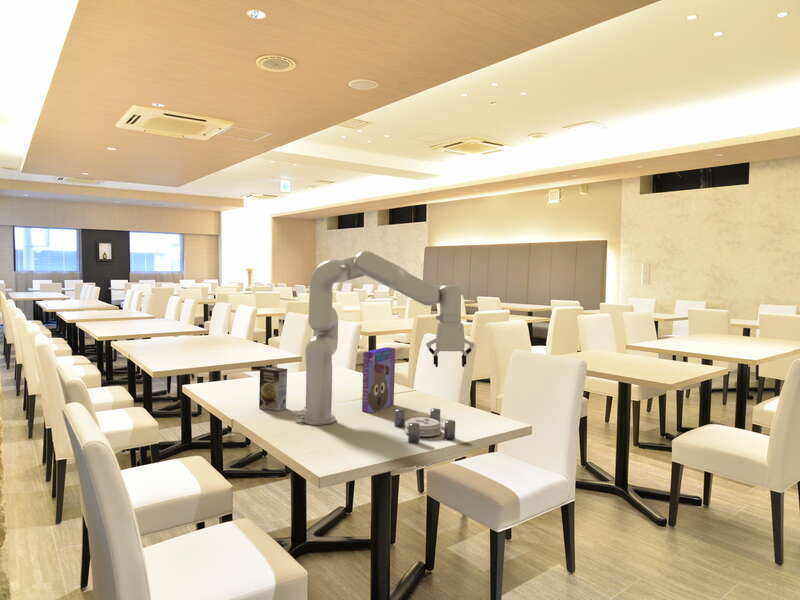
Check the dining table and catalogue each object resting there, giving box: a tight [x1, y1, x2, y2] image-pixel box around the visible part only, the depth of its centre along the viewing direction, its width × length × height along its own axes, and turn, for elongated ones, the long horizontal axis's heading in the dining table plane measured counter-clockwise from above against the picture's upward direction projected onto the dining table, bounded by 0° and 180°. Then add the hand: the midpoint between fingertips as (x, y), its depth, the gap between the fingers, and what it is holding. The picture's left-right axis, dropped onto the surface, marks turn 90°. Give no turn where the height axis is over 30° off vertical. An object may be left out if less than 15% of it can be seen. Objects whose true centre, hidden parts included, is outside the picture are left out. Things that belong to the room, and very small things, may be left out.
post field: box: [394, 407, 456, 444], centre depth 192 cm, size 17×23×6 cm
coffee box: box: [258, 366, 288, 412], centre depth 220 cm, size 9×6×16 cm
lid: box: [404, 416, 442, 437], centre depth 192 cm, size 13×13×5 cm
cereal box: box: [361, 347, 396, 414], centre depth 225 cm, size 17×5×24 cm, turn 152°
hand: (449, 366), depth 199 cm, fingers open, 9 cm apart
